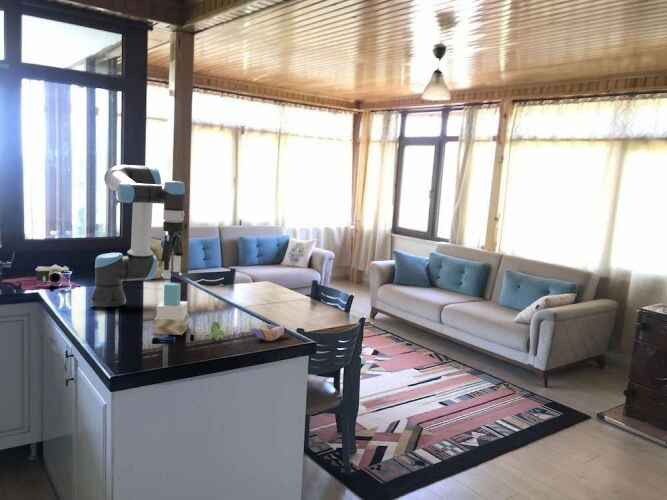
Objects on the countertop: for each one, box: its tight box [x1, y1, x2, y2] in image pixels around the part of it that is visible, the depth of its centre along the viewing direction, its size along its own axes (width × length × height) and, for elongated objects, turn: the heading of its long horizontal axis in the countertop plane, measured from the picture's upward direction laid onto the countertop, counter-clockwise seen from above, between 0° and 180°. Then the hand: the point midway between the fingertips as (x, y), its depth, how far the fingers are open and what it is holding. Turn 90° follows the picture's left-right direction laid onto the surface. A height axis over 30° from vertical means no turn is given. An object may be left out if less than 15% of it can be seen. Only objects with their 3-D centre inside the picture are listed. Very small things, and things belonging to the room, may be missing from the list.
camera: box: [35, 263, 70, 284], centre depth 286 cm, size 16×9×10 cm, turn 115°
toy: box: [250, 323, 287, 342], centre depth 210 cm, size 9×6×15 cm
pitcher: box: [150, 235, 165, 280], centre depth 317 cm, size 22×24×25 cm
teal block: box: [163, 282, 182, 306], centre depth 212 cm, size 5×5×8 cm
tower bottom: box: [152, 312, 190, 336], centre depth 214 cm, size 11×11×6 cm
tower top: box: [156, 300, 189, 320], centre depth 213 cm, size 10×10×5 cm
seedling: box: [204, 321, 226, 341], centre depth 207 cm, size 7×8×6 cm
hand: (171, 275), depth 211 cm, fingers open, 13 cm apart
